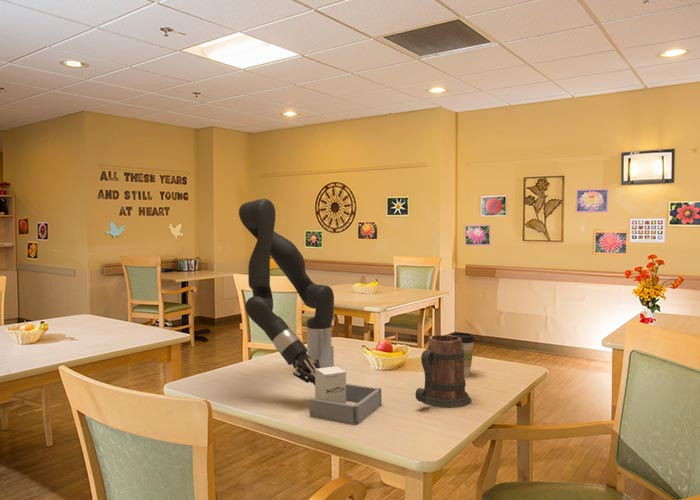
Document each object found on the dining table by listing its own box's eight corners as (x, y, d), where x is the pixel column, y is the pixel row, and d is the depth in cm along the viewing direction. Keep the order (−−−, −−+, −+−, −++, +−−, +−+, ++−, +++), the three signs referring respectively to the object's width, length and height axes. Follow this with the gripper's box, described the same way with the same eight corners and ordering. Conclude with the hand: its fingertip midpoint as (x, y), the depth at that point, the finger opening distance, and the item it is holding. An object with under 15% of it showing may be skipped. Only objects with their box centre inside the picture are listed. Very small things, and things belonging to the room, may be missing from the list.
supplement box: (324, 416, 157) (323, 374, 156) (314, 408, 164) (314, 368, 163) (346, 412, 160) (346, 371, 159) (336, 405, 167) (336, 365, 166)
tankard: (437, 387, 184) (437, 330, 183) (481, 398, 173) (482, 337, 172) (395, 405, 167) (396, 341, 166) (442, 418, 156) (442, 350, 155)
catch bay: (309, 416, 158) (309, 399, 157) (338, 397, 174) (338, 382, 174) (356, 424, 151) (356, 407, 151) (381, 404, 168) (381, 388, 167)
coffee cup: (445, 377, 196) (445, 336, 196) (450, 370, 206) (450, 331, 205) (472, 380, 193) (472, 338, 192) (476, 372, 202) (476, 333, 201)
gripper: (285, 343, 163) (320, 388, 158) (307, 334, 175) (340, 376, 170) (271, 358, 166) (305, 403, 161) (293, 349, 177) (326, 390, 173)
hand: (323, 389), depth 166 cm, fingers closed
